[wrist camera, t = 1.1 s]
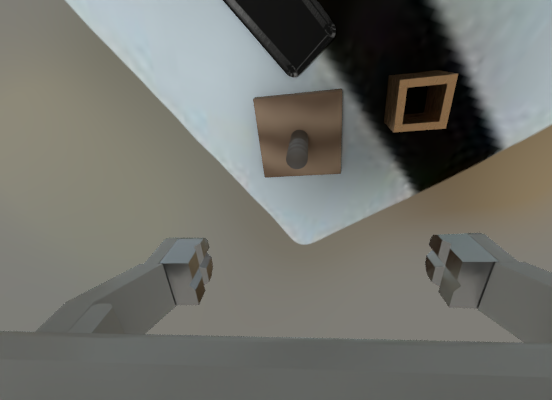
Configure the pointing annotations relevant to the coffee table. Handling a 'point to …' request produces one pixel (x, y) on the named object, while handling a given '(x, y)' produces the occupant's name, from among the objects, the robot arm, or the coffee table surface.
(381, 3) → the coffee table surface
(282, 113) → the post stand
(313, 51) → the phone
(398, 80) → the wooden square sleeve
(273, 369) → the robot arm
